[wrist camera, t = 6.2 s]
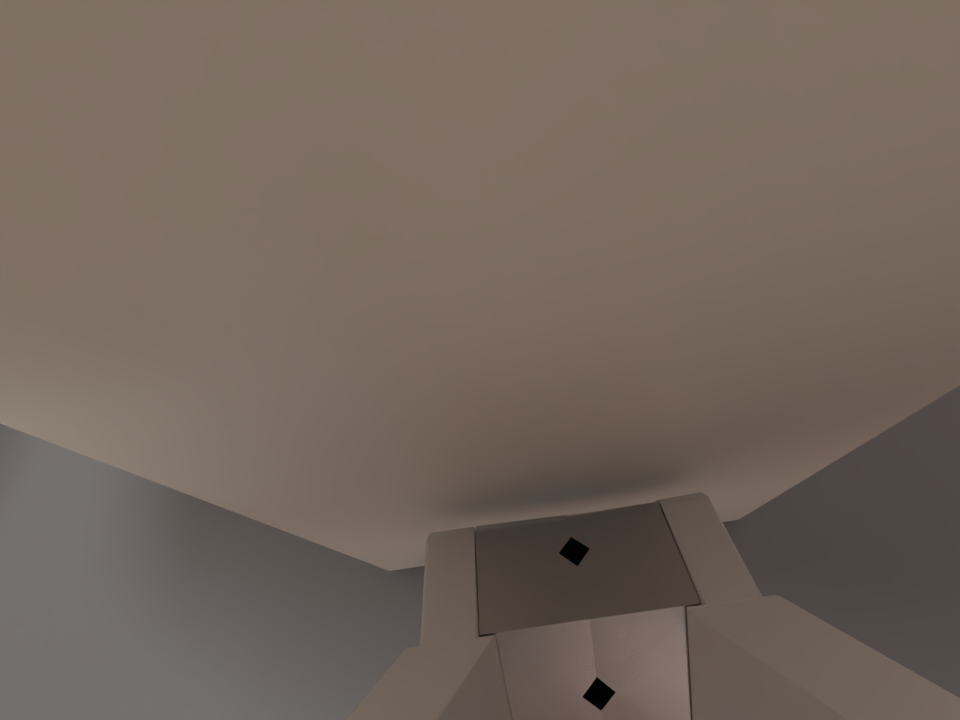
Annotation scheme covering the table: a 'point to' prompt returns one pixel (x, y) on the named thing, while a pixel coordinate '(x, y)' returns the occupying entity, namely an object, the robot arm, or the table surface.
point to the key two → (475, 249)
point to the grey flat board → (397, 584)
